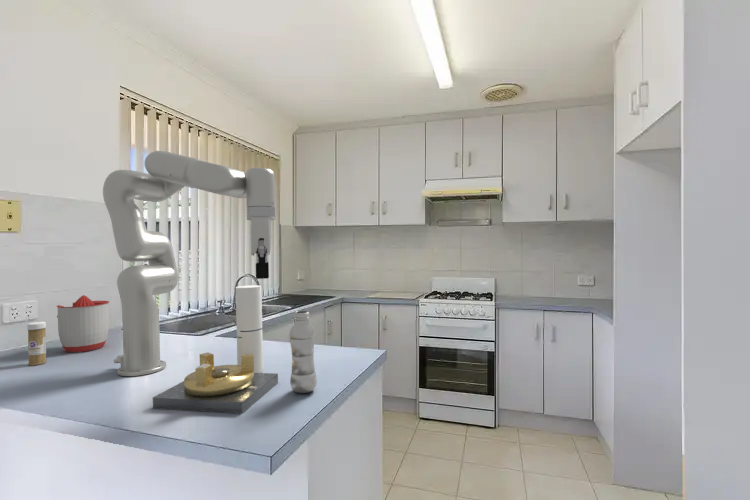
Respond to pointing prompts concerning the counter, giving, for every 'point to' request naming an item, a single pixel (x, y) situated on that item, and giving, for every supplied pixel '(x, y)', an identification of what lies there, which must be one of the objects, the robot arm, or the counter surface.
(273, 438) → the counter surface
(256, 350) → the cylindrical container
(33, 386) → the counter surface
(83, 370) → the counter surface
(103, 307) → the citrus juicer
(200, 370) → the gold tabbed disc
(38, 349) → the sprinkles bottle
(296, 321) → the plastic bottle
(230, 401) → the base plate
